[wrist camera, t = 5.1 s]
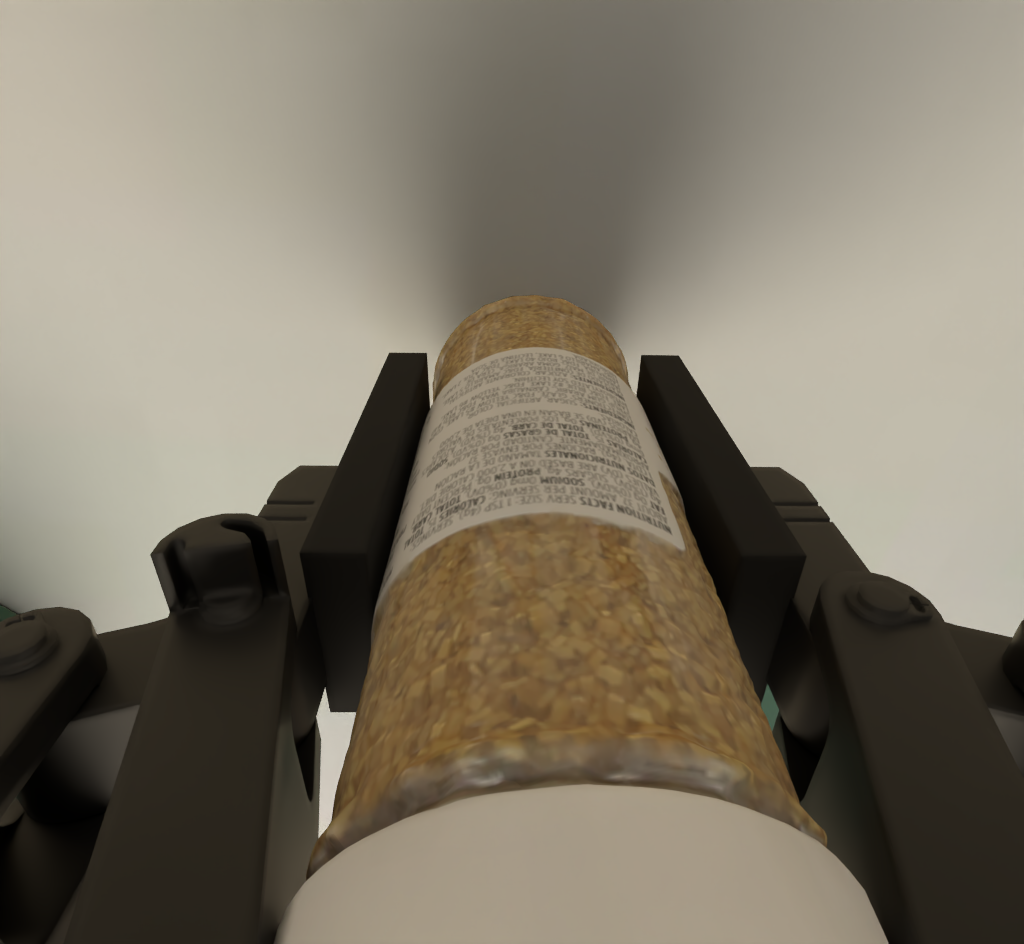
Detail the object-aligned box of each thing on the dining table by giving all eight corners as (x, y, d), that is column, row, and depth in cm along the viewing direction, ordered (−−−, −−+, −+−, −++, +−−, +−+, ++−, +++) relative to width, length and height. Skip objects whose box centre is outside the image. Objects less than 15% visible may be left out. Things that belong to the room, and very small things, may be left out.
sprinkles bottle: (599, 481, 16) (817, 1411, 5) (420, 453, 16) (195, 1403, 4) (651, 306, 14) (1297, 1274, 3) (445, 267, 14) (110, 1232, 2)
